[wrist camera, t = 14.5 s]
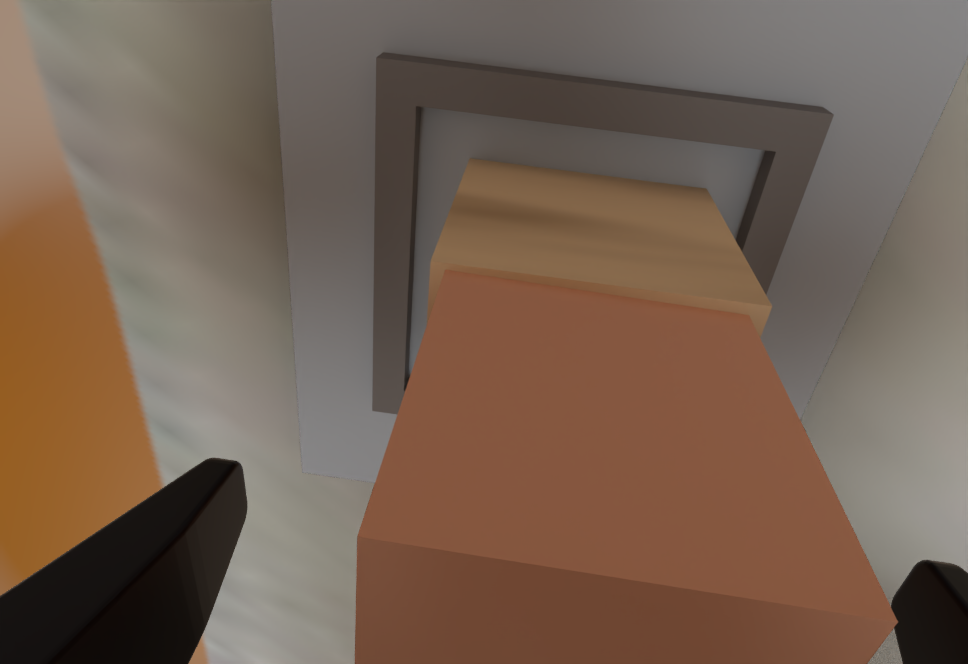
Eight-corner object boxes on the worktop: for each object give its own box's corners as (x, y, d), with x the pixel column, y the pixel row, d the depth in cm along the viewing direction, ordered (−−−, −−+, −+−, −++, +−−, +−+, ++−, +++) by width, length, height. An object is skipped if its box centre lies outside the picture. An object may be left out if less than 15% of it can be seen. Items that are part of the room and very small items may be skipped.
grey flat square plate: (740, 515, 20) (751, 553, 18) (310, 453, 20) (295, 487, 19) (1000, -75, 12) (1051, -74, 10) (276, -158, 12) (246, -167, 11)
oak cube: (650, 380, 16) (682, 539, 12) (452, 353, 17) (415, 500, 12) (706, 188, 14) (772, 306, 10) (469, 158, 14) (430, 261, 10)
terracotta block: (667, 525, 12) (726, 851, 8) (424, 486, 12) (352, 789, 8) (749, 315, 10) (898, 620, 5) (445, 269, 10) (357, 536, 5)
